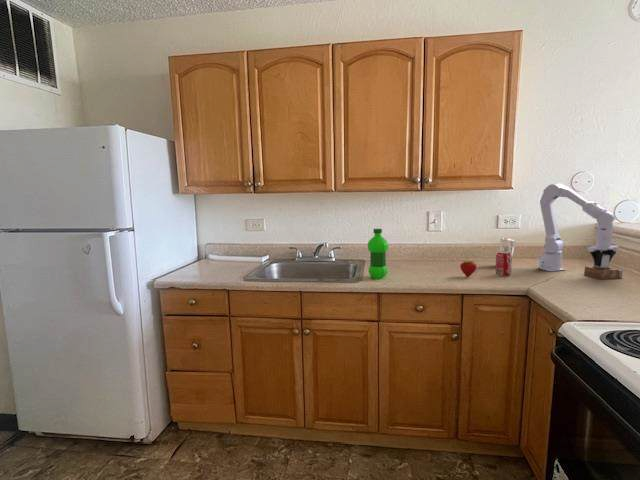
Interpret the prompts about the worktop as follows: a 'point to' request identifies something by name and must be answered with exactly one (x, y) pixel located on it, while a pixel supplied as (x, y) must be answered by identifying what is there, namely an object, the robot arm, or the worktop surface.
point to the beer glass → (507, 245)
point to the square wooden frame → (601, 272)
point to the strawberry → (468, 268)
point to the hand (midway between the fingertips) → (601, 265)
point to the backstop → (620, 274)
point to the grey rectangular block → (603, 262)
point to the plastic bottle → (378, 255)
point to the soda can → (503, 263)
